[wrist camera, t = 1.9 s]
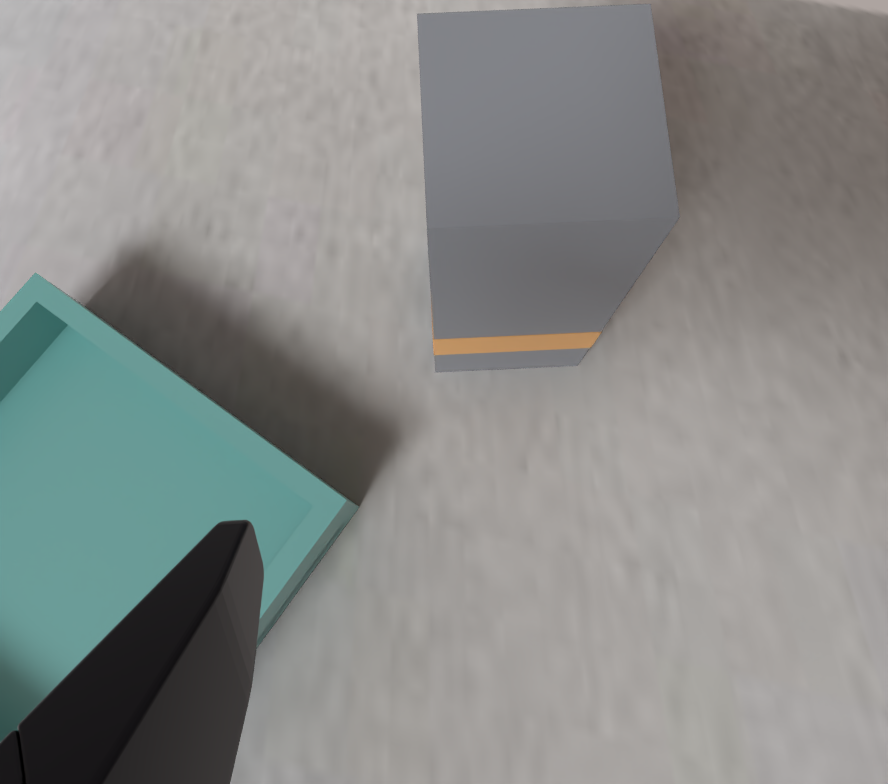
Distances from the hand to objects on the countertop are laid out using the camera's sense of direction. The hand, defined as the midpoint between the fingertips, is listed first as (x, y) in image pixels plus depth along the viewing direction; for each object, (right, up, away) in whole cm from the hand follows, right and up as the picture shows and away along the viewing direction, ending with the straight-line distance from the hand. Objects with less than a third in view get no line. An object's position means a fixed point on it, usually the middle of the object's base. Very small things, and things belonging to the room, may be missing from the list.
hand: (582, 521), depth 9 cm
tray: (-13, -4, +14) cm, 19 cm away
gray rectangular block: (0, +5, +16) cm, 16 cm away
